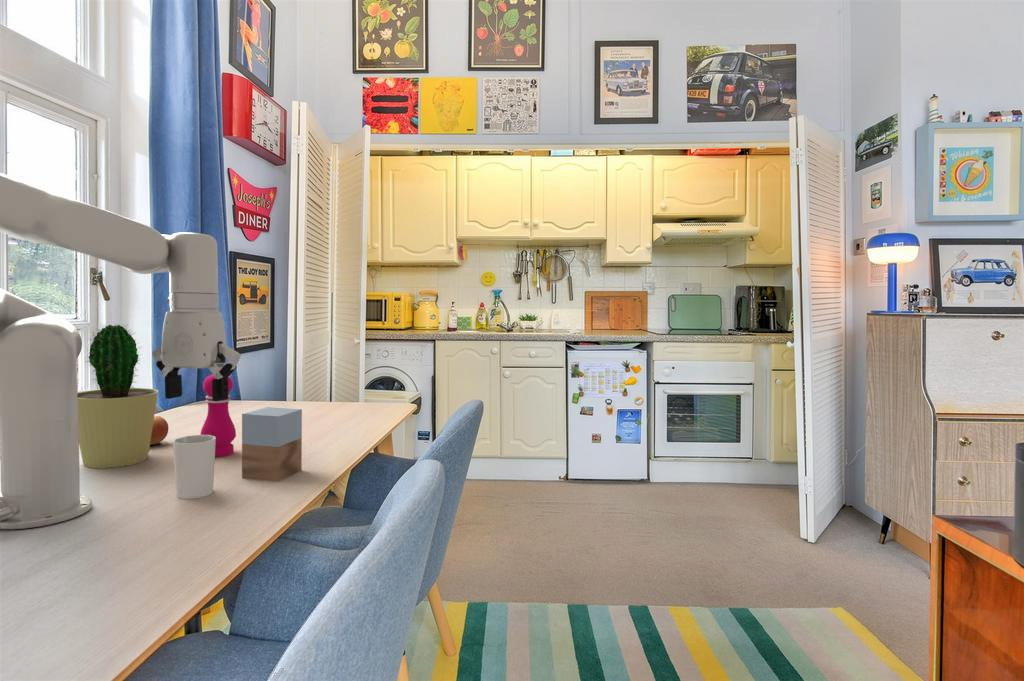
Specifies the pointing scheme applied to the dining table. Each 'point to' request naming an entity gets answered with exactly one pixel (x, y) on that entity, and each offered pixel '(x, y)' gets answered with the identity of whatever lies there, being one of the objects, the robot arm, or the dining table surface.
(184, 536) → the dining table surface
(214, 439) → the white cup
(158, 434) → the apple
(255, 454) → the walnut block
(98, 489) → the dining table surface
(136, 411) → the potted cactus
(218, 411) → the pepper mill
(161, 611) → the dining table surface
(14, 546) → the dining table surface
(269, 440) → the slate block
